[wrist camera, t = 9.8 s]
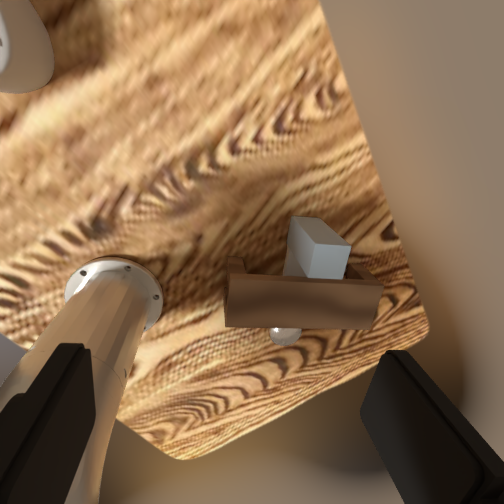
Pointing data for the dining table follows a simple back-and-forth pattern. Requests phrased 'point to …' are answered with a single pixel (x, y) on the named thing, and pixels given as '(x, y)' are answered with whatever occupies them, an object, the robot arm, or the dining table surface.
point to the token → (284, 335)
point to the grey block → (314, 250)
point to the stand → (300, 299)
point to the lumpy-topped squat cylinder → (23, 48)
